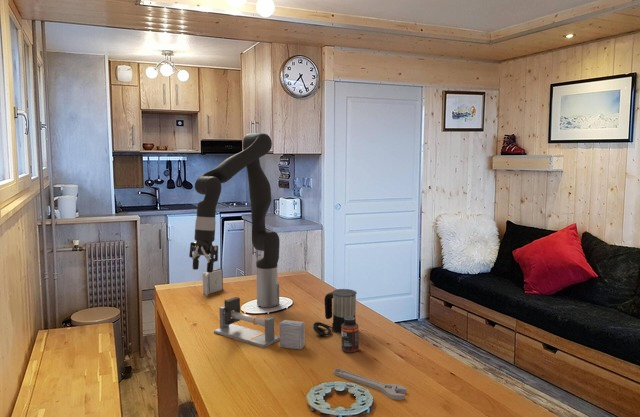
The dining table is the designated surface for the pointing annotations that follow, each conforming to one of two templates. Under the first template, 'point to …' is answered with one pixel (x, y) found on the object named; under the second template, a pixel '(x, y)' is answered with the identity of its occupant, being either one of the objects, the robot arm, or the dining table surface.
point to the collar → (231, 309)
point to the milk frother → (337, 310)
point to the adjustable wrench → (374, 384)
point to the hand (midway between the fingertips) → (202, 270)
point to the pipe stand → (246, 333)
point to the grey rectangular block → (212, 281)
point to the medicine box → (292, 334)
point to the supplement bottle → (350, 335)
